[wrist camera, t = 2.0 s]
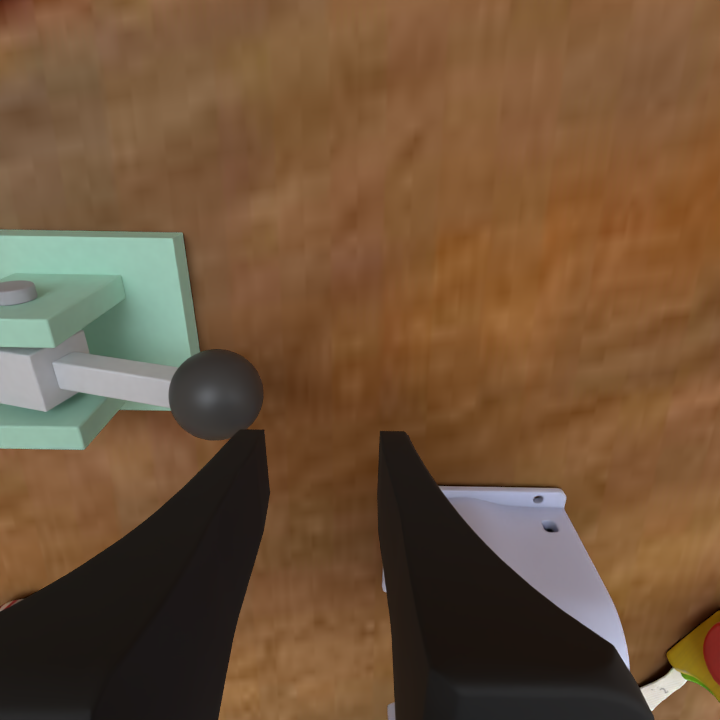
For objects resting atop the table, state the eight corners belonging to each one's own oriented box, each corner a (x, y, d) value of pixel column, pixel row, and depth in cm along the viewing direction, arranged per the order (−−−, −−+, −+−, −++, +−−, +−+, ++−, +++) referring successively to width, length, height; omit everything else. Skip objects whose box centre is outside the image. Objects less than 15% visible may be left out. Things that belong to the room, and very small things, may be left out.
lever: (275, 341, 16) (230, 381, 13) (280, 416, 17) (240, 466, 15) (27, 308, 18) (-51, 338, 16) (48, 377, 20) (-21, 414, 17)
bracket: (183, 232, 20) (110, 273, 14) (206, 398, 23) (156, 485, 18) (-34, 228, 20) (-194, 268, 14) (23, 395, 23) (-87, 481, 18)
